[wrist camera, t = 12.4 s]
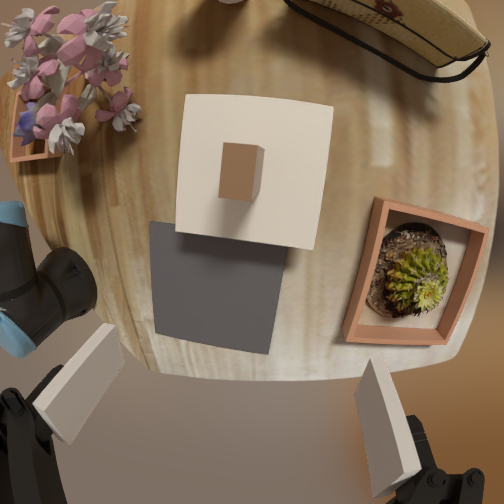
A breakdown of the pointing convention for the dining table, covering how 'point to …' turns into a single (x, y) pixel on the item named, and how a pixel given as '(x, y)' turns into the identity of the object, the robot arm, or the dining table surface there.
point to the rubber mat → (215, 288)
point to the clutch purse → (414, 31)
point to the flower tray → (16, 149)
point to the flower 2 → (56, 71)
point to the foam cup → (230, 1)
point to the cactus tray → (367, 268)
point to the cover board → (280, 169)
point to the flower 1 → (26, 125)
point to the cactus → (409, 272)
